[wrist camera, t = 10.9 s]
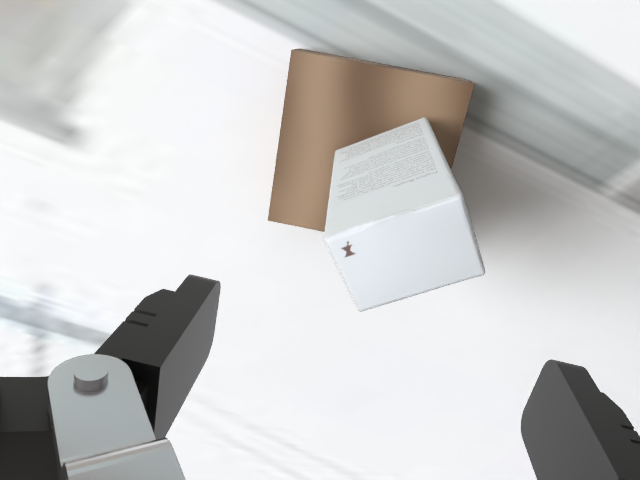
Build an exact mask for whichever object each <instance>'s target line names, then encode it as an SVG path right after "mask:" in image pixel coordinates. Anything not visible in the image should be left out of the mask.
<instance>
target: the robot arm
mask: <svg viewBox="0 0 640 480" xmlns="http://www.w3.org/2000/svg"><path fill="white" fill-rule="evenodd" d="M219 295H220V282H219V281H216V280H212V279H208V278H203V277H199V276H195V275H188V277H187V278H186V279H185V280H184V281H183V283H182V284H181V285H180V286H179V288H178V289H177V290H176V291H175V292H174V291H170V290H165V289H162V290H160V291H158V292H155V293H153V294H151V295H149V296H147V297H145V298H144V299H143V300H142V301H141V303H140V304H139V305H138V306H137V307H136V308H135V310H134V312H133V311H132V313H131V314H130V315H129V316H128V317H127V318H126V320H125V322H124V321H123V322H122V324H121V325H120V326H119V327H118V328H117V329H116V330H115V331H114V332H113V334H112V335H111V336H110V337H109V338H108V339H107V340H106V341H105V342H104V344H103V345H102V346H101V347H100V348H99V349H98V350H97V351H96V352H95V353H94V354H90V355H83V356H78V357H75V358H71V359H69V360H67V361H65V362H63V363H61V364H60V365H58V366H57V367H56V368H55V369H54V370H53V371H52V372H51V374H50V376H47V377H0V480H185V477H184V474H183V472H182V469H181V467H180V464H179V462H178V459H177V457H176V454H175V452H174V449H173V447H172V444H171V443H170V441H169V440H168V439H167V438H165V436H166V434H167V432H168V431H169V429H170V427H171V425H172V423H173V421H174V419H175V418H176V416H177V414H178V412H179V410H180V408H181V406H182V405H183V403H184V401H185V399H186V397H187V395H188V393H189V392H190V390H191V388H192V386H193V384H194V382H195V380H196V379H197V377H198V375H199V373H200V371H201V369H202V367H203V366H204V364H205V362H206V360H207V357H208V355H209V352H210V349H211V346H212V342H213V337H214V330H215V323H216V316H217V309H218V302H219ZM633 429H634V427H633V426H632V424H631V423H630V421H629V419H628V418H627V416H626V415H625V413H624V412H623V410H622V409H621V408H620V407H618V406H617V405H616V404H615V403H614V402H613V401H612V400H611V399H610V398H609V397H608V396H606V395H605V394H604V393H601V392H600V391H599V389H598V387H597V386H596V384H595V383H594V381H593V379H592V378H591V376H590V375H589V373H588V371H587V370H586V369H585V368H584V367H582V366H577V365H573V364H569V363H564V362H560V361H556V360H549V361H547V362H546V363H545V365H544V366H543V368H542V370H541V373H540V375H539V377H538V379H537V382H536V384H535V386H534V388H533V390H532V393H531V395H530V397H529V399H528V402H527V404H526V406H525V408H524V411H523V414H522V419H521V433H522V438H523V441H524V444H525V446H526V449H527V452H528V455H529V458H530V460H531V463H532V466H533V469H534V472H535V475H536V477H537V480H640V436H639V435H638V433H637V432H636V431H634V430H633Z"/></svg>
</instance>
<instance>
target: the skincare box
mask: <svg viewBox="0 0 640 480" xmlns="http://www.w3.org/2000/svg"><path fill="white" fill-rule="evenodd" d="M324 242H325V244H326V246H327V248H328V250H329V252H330V254H331V256H332V258H333V260H334V262H335V264H336V266H337V268H338V270H339V272H340V274H341V277H342V279H343V281H344V283H345V285H346V287H347V289H348V291H349V293H350V295H351V297H352V299H353V302H354V304H355V306H356V308H357V310H358V311H360V312H362V311H365V310H368V309H371V308H375V307H378V306H381V305H384V304H388V303H391V302H395V301H398V300H401V299H404V298H408V297H411V296H414V295H417V294H420V293H424V292H427V291H430V290H433V289H437V288H440V287H443V286H447V285H450V284H454V283H457V282H460V281H463V280H467V279H470V278H474V277H477V276H481V275H484V274H485V268H484V265H483V261H482V257H481V254H480V250H479V247H478V243H477V240H476V236H475V233H474V229H473V226H472V222H471V219H470V216H469V212H468V209H467V206H466V203H465V200H464V196H463V194H462V192H461V190H460V188H459V186H458V184H457V182H456V180H455V178H454V176H453V174H452V172H451V170H450V168H449V165H448V163H447V161H446V159H445V157H444V154H443V152H442V150H441V148H440V146H439V143H438V141H437V139H436V137H435V134H434V132H433V130H432V128H431V126H430V123H429V121H428V120H427V118H425V117H423V118H421V119H418V120H416V121H413V122H410V123H408V124H405V125H402V126H400V127H397V128H394V129H392V130H389V131H386V132H384V133H381V134H378V135H376V136H373V137H370V138H368V139H365V140H362V141H360V142H357V143H355V144H352V145H349V146H346V147H344V148H341V149H338V150H336V151H335V156H334V163H333V171H332V179H331V186H330V194H329V201H328V209H327V217H326V225H325V232H324Z"/></svg>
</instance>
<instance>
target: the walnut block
mask: <svg viewBox="0 0 640 480" xmlns="http://www.w3.org/2000/svg"><path fill="white" fill-rule="evenodd" d="M473 87H474V83H472V82H470V81H468V80H466V79H461V78H456V77H450V76H445V75H440V74H434V73H429V72H423V71H418V70H413V69H407V68H402V67H396V66H391V65H386V64H380V63H375V62H369V61H364V60H359V59H353V58H348V57H342V56H337V55H332V54H326V53H321V52H315V51H310V50H305V49H294V50H291V58H290V65H289V72H288V79H287V86H286V94H285V101H284V108H283V115H282V122H281V130H280V137H279V144H278V151H277V158H276V166H275V173H274V180H273V187H272V195H271V202H270V209H269V216H268V221H273V222H278V223H283V224H288V225H294V226H299V227H304V228H309V229H314V230H319V231H324V232H325V225H326V217H327V209H328V201H329V194H330V186H331V179H332V171H333V163H334V156H335V151H336V150H338V149H341V148H344V147H346V146H349V145H352V144H355V143H357V142H360V141H362V140H365V139H368V138H370V137H373V136H376V135H378V134H381V133H384V132H386V131H389V130H392V129H394V128H397V127H400V126H402V125H405V124H408V123H410V122H413V121H416V120H418V119H421V118H423V117H425V118H427V120H428V121H429V123H430V126H431V128H432V130H433V132H434V134H435V137H436V139H437V141H438V143H439V146H440V148H441V150H442V152H443V154H444V157H445V159H446V161H447V163H448V165H449V168H450V170H451V168H452V164H453V160H454V157H455V153H456V149H457V146H458V142H459V138H460V135H461V131H462V127H463V124H464V120H465V117H466V113H467V109H468V106H469V102H470V98H471V95H472V91H473Z"/></svg>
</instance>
